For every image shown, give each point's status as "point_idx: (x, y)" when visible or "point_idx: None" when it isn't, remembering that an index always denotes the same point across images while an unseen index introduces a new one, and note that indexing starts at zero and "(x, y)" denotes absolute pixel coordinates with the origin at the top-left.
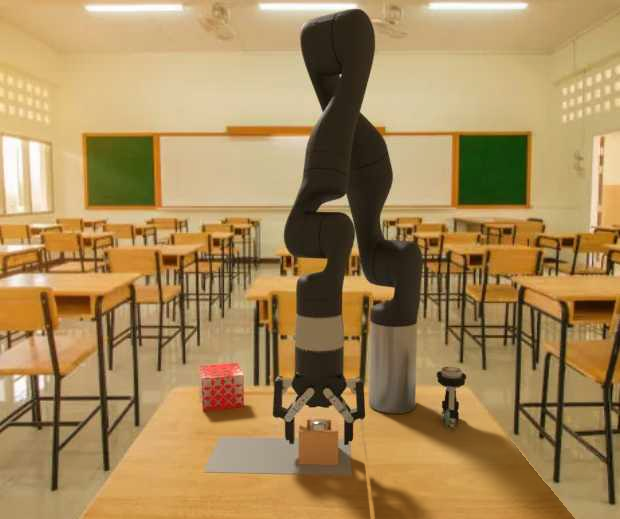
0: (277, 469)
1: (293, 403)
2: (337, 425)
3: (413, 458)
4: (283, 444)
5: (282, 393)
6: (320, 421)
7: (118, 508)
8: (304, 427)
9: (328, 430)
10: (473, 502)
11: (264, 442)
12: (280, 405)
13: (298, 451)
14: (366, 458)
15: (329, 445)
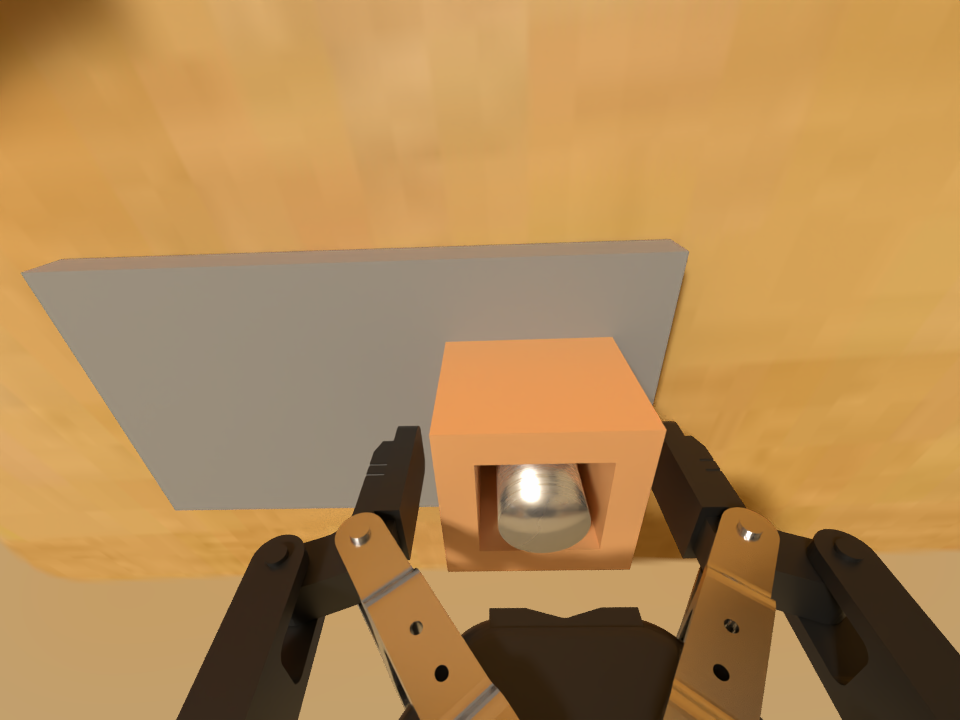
0: None
1: (382, 653)
2: (641, 511)
3: (919, 316)
4: (363, 329)
5: (263, 708)
6: (552, 521)
7: (88, 570)
8: (468, 533)
9: (587, 550)
10: (919, 522)
11: (270, 317)
12: (307, 675)
13: None
14: (717, 329)
15: None
